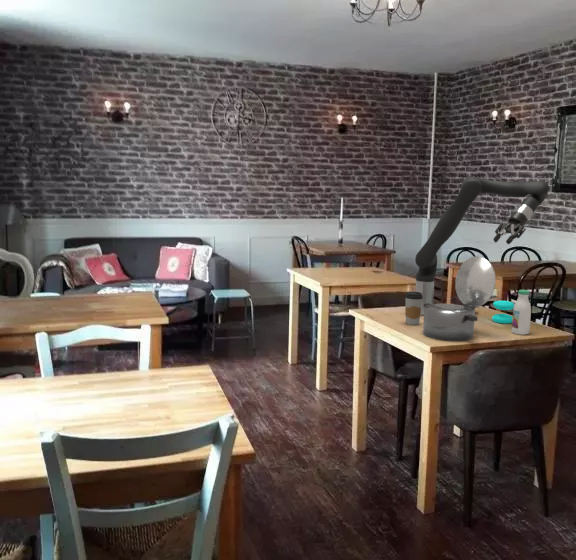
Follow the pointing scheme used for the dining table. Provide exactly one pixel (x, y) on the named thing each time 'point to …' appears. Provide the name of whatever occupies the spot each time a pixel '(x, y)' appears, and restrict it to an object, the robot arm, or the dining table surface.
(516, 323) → the milk bottle
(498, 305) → the donuts
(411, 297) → the coffee cup
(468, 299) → the lid
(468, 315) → the cooking pot
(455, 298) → the pine cone
